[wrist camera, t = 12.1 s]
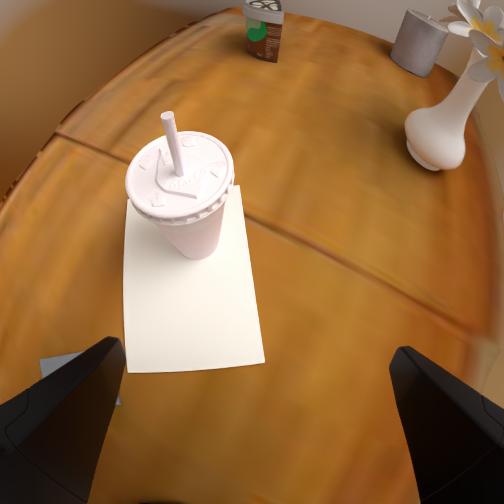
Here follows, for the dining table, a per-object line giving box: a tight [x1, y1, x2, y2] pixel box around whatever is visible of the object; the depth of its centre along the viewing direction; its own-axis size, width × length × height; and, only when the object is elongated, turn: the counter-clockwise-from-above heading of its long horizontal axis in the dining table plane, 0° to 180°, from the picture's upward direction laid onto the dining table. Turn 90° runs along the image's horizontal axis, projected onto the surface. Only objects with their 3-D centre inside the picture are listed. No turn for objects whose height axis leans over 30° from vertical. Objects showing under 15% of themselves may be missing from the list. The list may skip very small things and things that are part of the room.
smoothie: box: [126, 111, 235, 260], centre depth 17 cm, size 6×6×14 cm
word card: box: [39, 351, 122, 405], centre depth 18 cm, size 5×8×1 cm, turn 108°
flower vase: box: [405, 0, 504, 171], centre depth 19 cm, size 13×18×25 cm
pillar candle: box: [390, 9, 449, 77], centre depth 35 cm, size 10×10×15 cm
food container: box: [242, 0, 284, 63], centre depth 33 cm, size 12×6×10 cm, turn 177°
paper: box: [123, 185, 265, 373], centre depth 23 cm, size 16×11×1 cm
